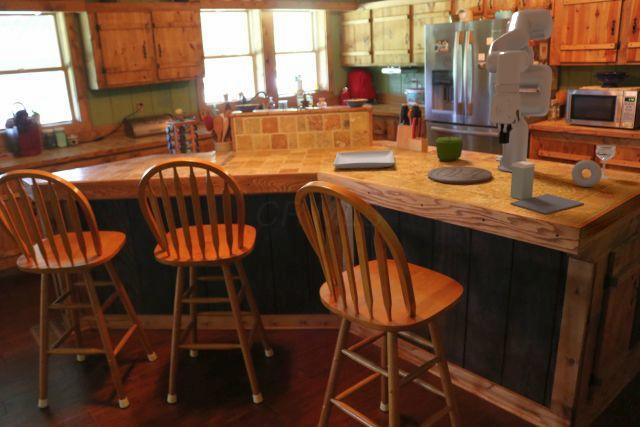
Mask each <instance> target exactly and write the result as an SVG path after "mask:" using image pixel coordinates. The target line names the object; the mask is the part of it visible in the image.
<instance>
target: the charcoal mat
mask: <svg viewBox="0 0 640 427" xmlns="http://www.w3.org/2000/svg"><path fill="white" fill-rule="evenodd" d="M509 204H510V205H513V206H514V207H518V208H521V209H525V210H528V211H532V212H535V213H538V214H542V215H549V214H552V213H557V212H560V211H565V210H568V209H572V208H575V207H579V206H580V207H581V206H583V205H584V202H581V201H577V200H573V199H570V198H566V197H561V196H557V195H553V194H550V193H546V194H541V195H537V196H532V198H528V199H524V200H517V201H513V202H510V203H509Z"/></svg>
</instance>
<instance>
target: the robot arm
mask: <svg viewBox="0 0 640 427" xmlns="http://www.w3.org/2000/svg"><path fill="white" fill-rule="evenodd" d="M553 31H554V21H553V15H552V13H551V12H550V11H549V10H548V9H546V8H535V9H534V8H533V9H522V10H521V9H520V10H518V11H516V12H513V14H512V15H511V16H510V18H509V20H508V21H507V23H506V25H505V33H504V34H502V35H501V36H500V37H497V38H496V39H495V40H494V41H492V43H490V46H489V48H488V51H487V55H486V59H485V69H486V70H487V71H488V73H491V74H495V75H496V76H495V77H496V79H495V85H494V89H495V93H493V95H492V98H491V103H490V111H489V120H490V122H491V123H492V125H493V126H494V127H497V131H498V132H499V137H498V139H499V140H498V144H502V153H501V154H502V156H500V155H499V156H497V158H496V159H495V161H496V162H499V164H498V165H497V169H498V170H499V171H502V172H507V173H508V172H509V173H512V163H516V162H521V161H524V162H527V157H528V155H527V154H528V144H529V143H528V142H529V141H528V140H529V131H530V130H529V124H528V123H527V121H526V120H525V119H524V117H544V116H546V115H547V114H548V113H549V110H550V105H551V93H552V85H553V84H552V83H553V71H552V68H551V67H550V65H547V64H534V59H535V58H534V57H535V52H534V50H533V49H532V47H531V46H530V44H529V42H530V41H537V40H538V41H539V40H540V41H541V40H547V39H550V38H551V36H552V34H553ZM520 90H537V91H520Z"/></svg>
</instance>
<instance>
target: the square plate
mask: <svg viewBox="0 0 640 427" xmlns="http://www.w3.org/2000/svg"><path fill="white" fill-rule="evenodd" d="M395 163H396V162H395V158H394V150H363V151H362V150H360V151H359V150H357V151H344V152H341V151H340V152H337V153H336V157H335V159H334V161H333V166H334V167H335V168H337V169H342V170H343V169H345V170H351V169H352V170H353V169H354V170H357V169H382V168H388V167H392V166H393V165H394V164H395Z"/></svg>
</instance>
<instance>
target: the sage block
mask: <svg viewBox="0 0 640 427" xmlns="http://www.w3.org/2000/svg"><path fill="white" fill-rule="evenodd" d="M535 165H536V163H533V162H528V161H526V162H524V161H521V162H516V163H512V172H511V180H510V182H511V183H510V195H509V197H510V198H512V199H515V200H518V201H520V200H524V199H528V198H532V197H533V192H534V190H533V189H534V179H535Z"/></svg>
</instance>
